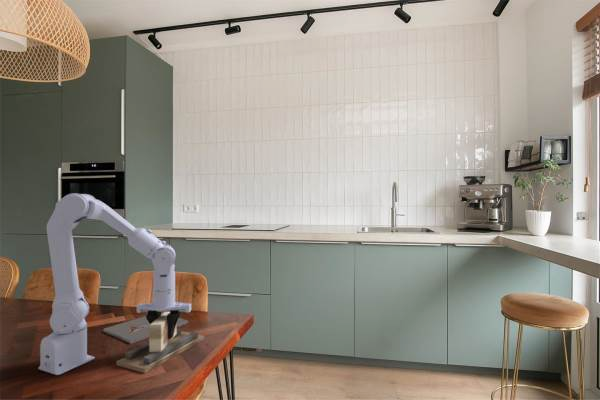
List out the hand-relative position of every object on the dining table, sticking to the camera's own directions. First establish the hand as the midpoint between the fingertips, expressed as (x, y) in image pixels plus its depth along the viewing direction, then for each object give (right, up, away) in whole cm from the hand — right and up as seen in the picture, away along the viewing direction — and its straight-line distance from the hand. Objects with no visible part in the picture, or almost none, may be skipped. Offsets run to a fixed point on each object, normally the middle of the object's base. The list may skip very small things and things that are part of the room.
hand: (164, 337), depth 94 cm
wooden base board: (0, -4, 0) cm, 4 cm away
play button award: (-13, -5, +18) cm, 22 cm away
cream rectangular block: (0, -1, 0) cm, 1 cm away
